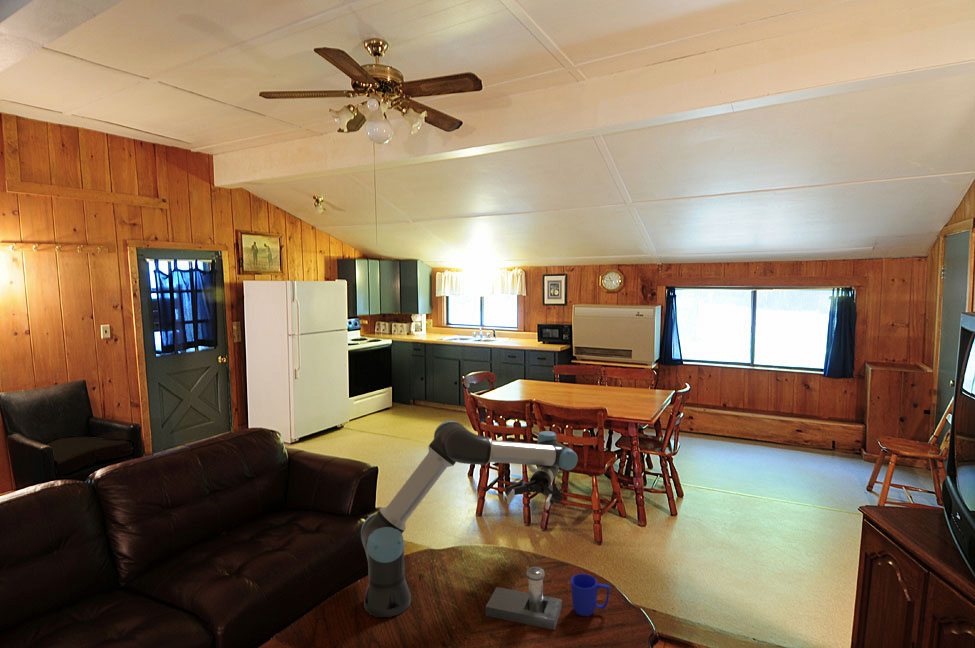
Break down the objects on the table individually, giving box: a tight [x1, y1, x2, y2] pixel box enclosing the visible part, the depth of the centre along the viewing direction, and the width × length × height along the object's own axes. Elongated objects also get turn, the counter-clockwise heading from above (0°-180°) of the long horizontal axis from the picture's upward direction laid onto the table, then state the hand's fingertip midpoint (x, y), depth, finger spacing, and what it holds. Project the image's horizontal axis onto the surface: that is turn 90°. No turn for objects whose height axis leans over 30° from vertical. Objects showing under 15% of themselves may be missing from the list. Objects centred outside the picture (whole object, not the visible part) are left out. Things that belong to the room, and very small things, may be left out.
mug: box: [570, 573, 611, 617], centre depth 161 cm, size 8×12×10 cm
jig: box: [485, 586, 562, 631], centre depth 161 cm, size 22×11×3 cm, turn 71°
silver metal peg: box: [526, 566, 546, 613], centre depth 160 cm, size 6×6×14 cm
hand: (527, 503), depth 172 cm, fingers open, 13 cm apart
